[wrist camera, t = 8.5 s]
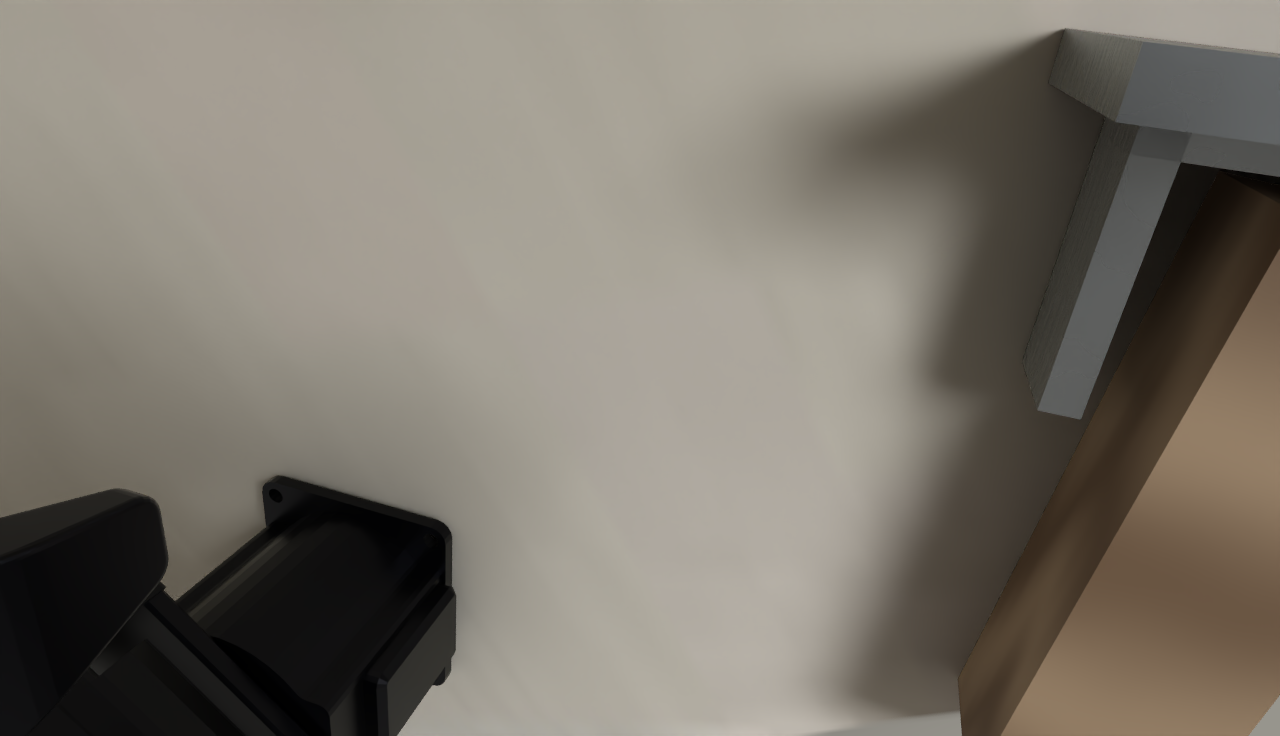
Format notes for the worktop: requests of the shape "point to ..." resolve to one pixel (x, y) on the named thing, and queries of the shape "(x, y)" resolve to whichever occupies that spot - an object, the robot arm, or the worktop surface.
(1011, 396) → the worktop surface
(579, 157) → the worktop surface
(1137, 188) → the bracket
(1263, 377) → the block
